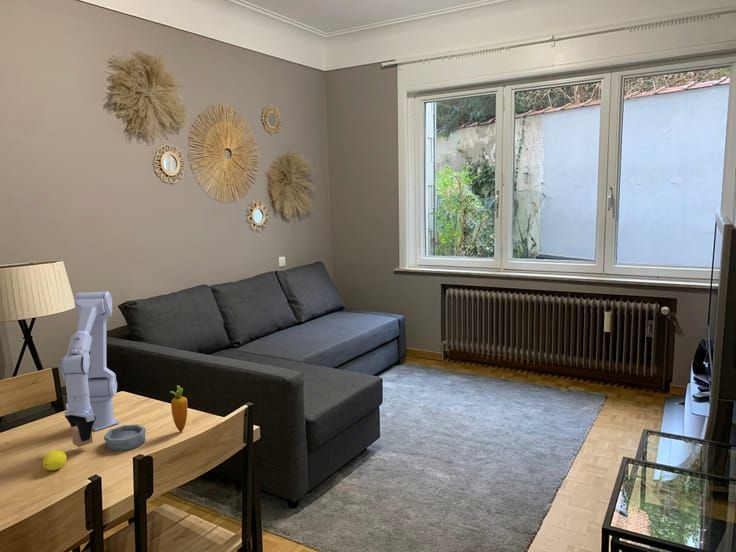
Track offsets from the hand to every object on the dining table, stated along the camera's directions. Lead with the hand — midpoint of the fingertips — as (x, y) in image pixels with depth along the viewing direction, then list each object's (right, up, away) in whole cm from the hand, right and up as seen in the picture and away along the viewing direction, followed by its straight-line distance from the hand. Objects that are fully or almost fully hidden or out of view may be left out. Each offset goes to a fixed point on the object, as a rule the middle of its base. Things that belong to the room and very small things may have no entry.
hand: (82, 438), depth 162 cm
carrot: (+25, -2, +12) cm, 28 cm away
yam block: (0, -2, 0) cm, 2 cm away
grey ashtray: (+11, -3, +4) cm, 12 cm away
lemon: (-2, -6, -11) cm, 12 cm away
